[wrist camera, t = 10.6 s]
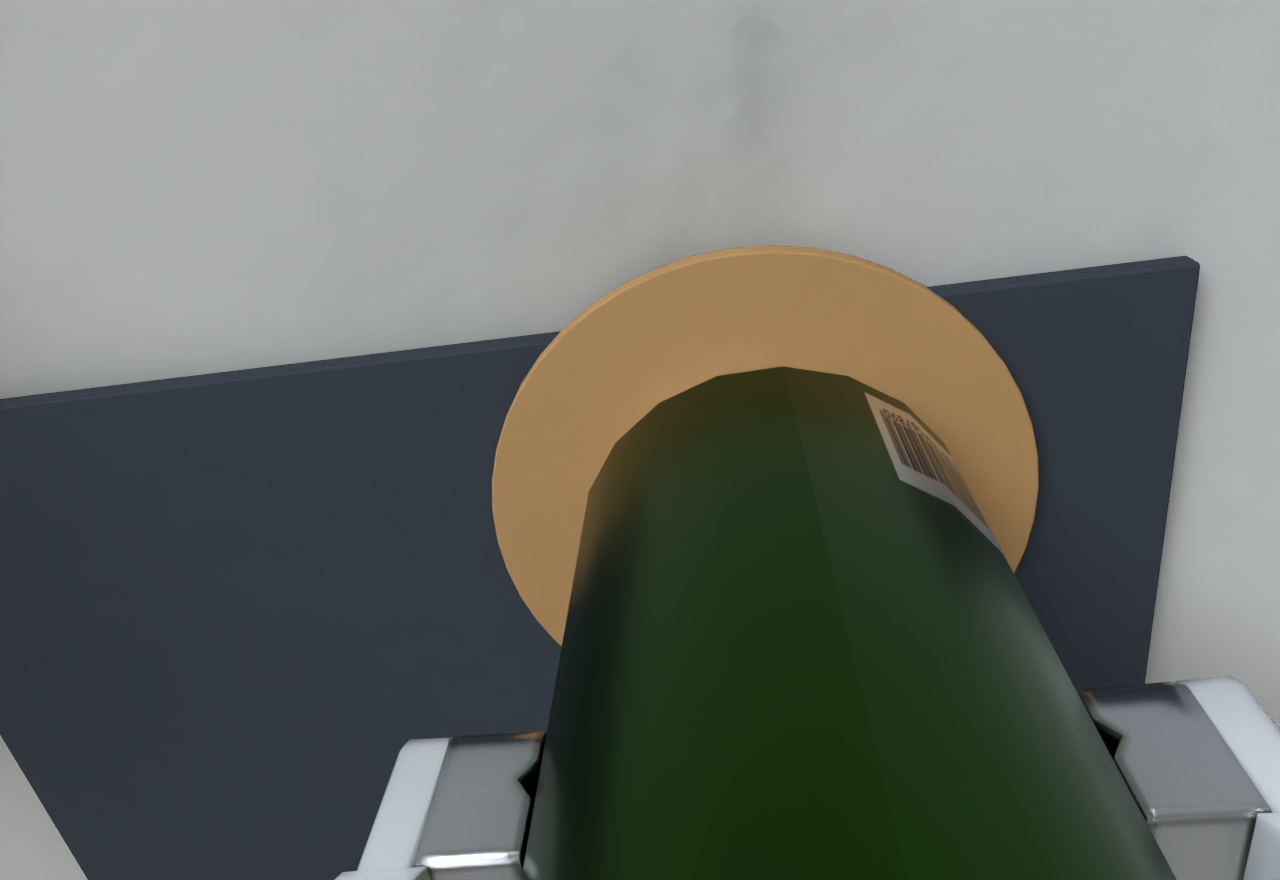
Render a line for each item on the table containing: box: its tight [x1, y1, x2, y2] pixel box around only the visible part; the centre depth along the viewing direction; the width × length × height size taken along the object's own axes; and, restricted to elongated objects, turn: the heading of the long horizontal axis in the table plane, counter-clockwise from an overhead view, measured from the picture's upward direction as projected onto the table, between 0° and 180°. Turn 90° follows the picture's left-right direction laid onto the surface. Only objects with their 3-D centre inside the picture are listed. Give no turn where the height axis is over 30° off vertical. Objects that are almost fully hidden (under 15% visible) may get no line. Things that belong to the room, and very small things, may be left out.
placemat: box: [0, 245, 1200, 880], centre depth 17 cm, size 20×20×1 cm
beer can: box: [521, 366, 1177, 880], centre depth 9 cm, size 5×5×12 cm
